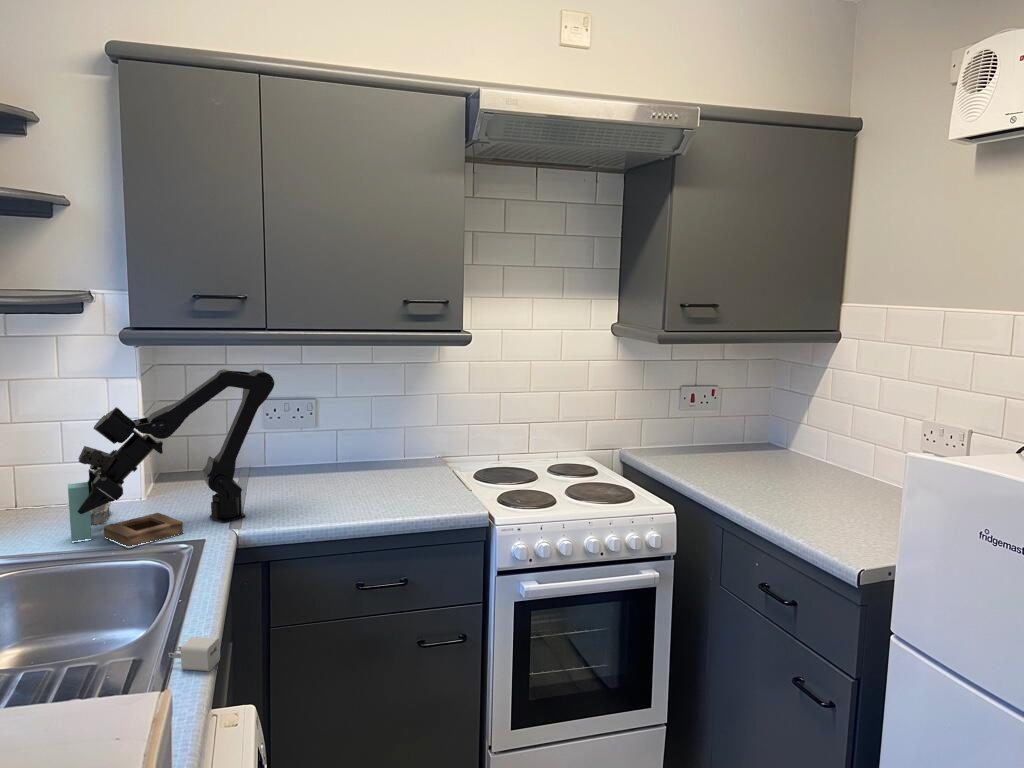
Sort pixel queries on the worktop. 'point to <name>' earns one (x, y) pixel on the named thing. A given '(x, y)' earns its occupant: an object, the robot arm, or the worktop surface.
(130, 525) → the walnut box
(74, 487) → the teal post
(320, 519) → the worktop surface
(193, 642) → the usb wall charger
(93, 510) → the miniature castle
